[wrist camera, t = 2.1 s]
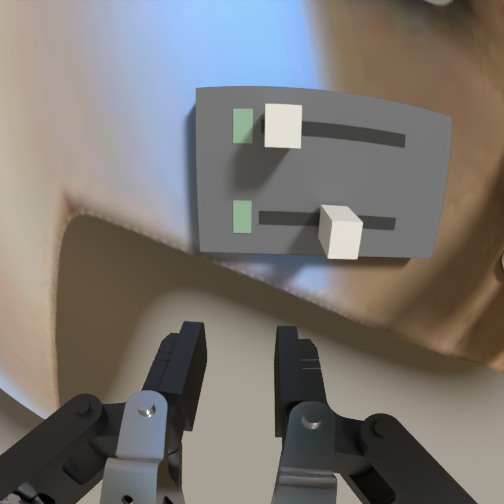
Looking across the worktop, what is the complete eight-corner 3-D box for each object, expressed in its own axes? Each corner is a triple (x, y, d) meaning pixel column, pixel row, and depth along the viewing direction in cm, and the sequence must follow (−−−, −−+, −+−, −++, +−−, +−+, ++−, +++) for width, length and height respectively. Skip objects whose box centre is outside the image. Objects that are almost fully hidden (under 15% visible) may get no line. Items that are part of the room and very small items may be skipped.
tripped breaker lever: (347, 206, 24) (363, 222, 20) (343, 238, 25) (357, 259, 21) (320, 204, 24) (332, 220, 20) (317, 237, 26) (327, 258, 21)
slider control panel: (436, 116, 23) (452, 116, 20) (419, 247, 29) (431, 258, 26) (203, 92, 24) (195, 87, 21) (205, 239, 30) (199, 252, 27)
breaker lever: (294, 109, 21) (302, 105, 17) (293, 145, 22) (300, 148, 18) (265, 108, 21) (265, 103, 17) (264, 143, 22) (264, 146, 18)
